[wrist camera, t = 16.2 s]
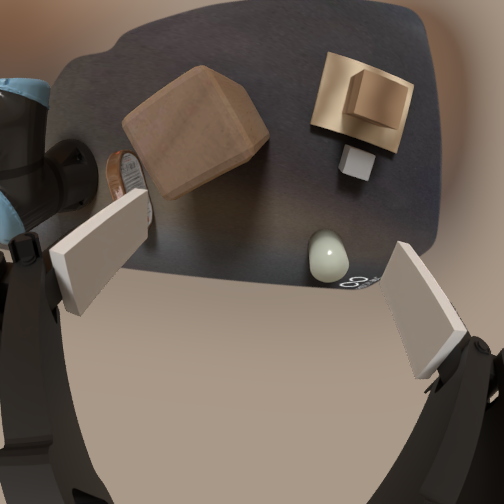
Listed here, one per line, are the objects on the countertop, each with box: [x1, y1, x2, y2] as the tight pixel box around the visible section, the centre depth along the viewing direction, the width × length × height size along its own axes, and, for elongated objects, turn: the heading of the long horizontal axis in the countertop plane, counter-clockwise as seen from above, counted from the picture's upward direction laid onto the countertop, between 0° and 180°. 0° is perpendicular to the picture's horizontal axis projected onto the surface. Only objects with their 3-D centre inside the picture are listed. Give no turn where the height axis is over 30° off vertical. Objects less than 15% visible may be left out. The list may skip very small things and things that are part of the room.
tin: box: [106, 150, 153, 230], centre depth 42 cm, size 15×3×8 cm, turn 10°
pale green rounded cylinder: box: [308, 229, 349, 282], centre depth 43 cm, size 6×6×7 cm
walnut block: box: [342, 69, 408, 130], centre depth 29 cm, size 6×6×8 cm
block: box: [122, 65, 270, 200], centre depth 30 cm, size 10×10×20 cm
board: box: [310, 52, 414, 153], centre depth 33 cm, size 14×12×2 cm
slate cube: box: [338, 144, 376, 181], centre depth 37 cm, size 4×4×4 cm
